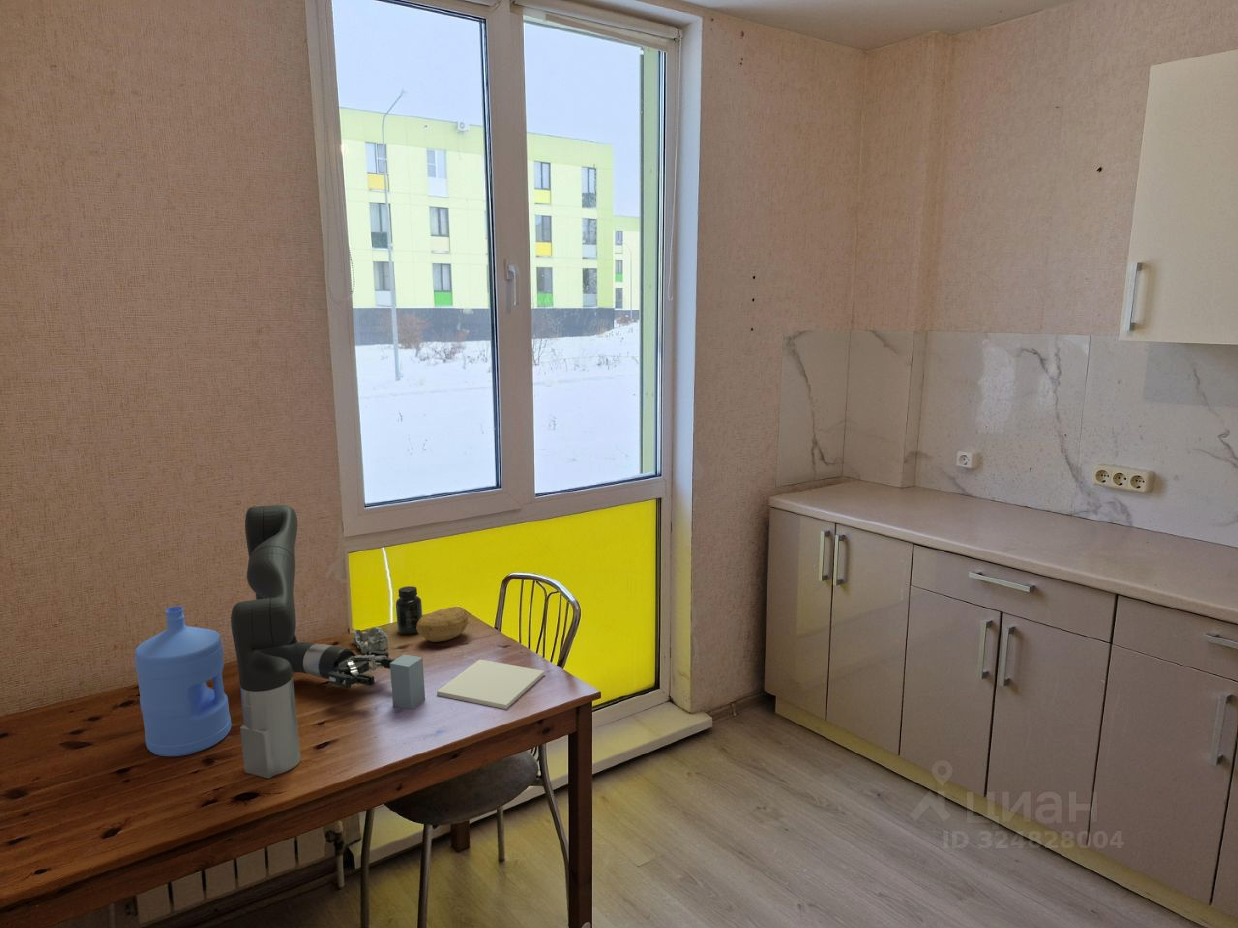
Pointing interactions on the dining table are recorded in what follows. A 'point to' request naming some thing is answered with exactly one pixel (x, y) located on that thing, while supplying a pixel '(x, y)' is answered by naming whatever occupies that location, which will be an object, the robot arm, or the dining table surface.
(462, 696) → the cream tile
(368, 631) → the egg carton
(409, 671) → the slate block
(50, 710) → the dining table surface
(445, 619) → the potato
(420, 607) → the supplement bottle
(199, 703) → the water jug
